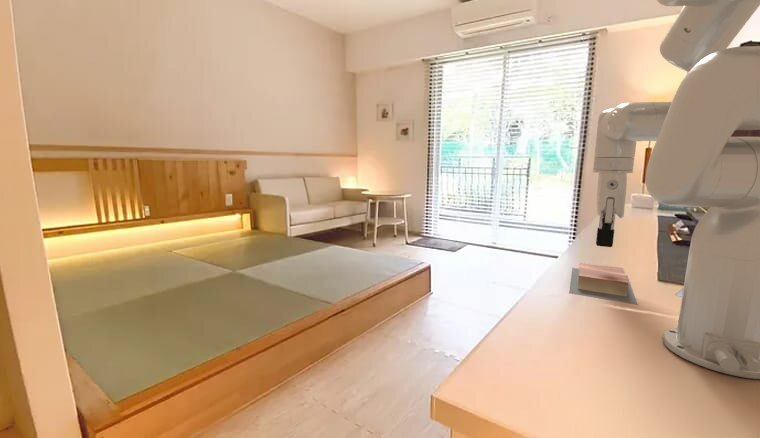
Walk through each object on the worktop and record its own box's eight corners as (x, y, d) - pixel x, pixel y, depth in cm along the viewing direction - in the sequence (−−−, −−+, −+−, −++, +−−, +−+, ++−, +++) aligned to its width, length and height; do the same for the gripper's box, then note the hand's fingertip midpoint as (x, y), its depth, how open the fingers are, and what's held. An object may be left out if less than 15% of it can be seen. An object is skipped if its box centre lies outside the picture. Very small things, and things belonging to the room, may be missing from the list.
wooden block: (621, 280, 84) (626, 296, 73) (578, 273, 88) (577, 288, 78) (623, 268, 83) (628, 282, 73) (579, 262, 88) (578, 275, 77)
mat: (637, 306, 69) (637, 304, 69) (568, 295, 75) (569, 292, 75) (626, 277, 87) (627, 275, 87) (572, 269, 93) (572, 267, 93)
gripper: (637, 166, 70) (626, 255, 73) (629, 166, 83) (620, 241, 86) (594, 166, 74) (585, 250, 77) (592, 165, 87) (585, 238, 90)
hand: (604, 245), depth 81 cm, fingers closed
